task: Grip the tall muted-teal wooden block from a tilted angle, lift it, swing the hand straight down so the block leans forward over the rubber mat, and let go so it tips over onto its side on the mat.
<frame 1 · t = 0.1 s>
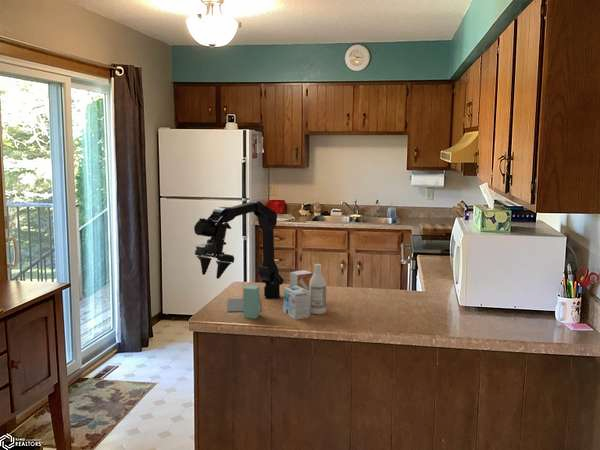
hand: (210, 276, 218), 15 cm above the worktop, tool pointing down, fingers open, 9 cm apart
bath foam: (317, 312, 223), on the worktop
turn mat: (243, 305, 232), on the worktop
small box: (300, 301, 238), on the worktop
light bulb box: (296, 315, 219), on the worktop
teal block: (251, 316, 217), on the worktop
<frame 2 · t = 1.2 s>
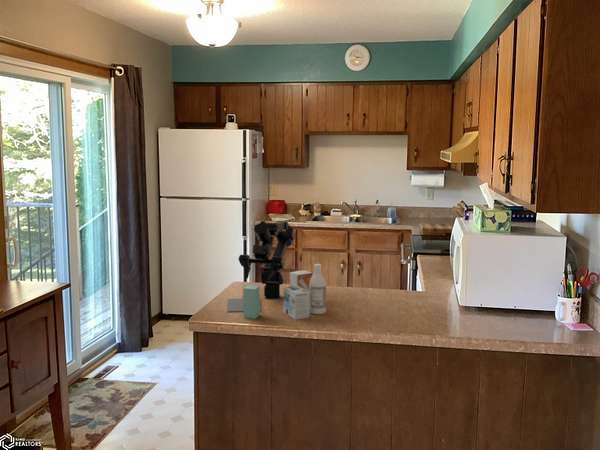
hand: (257, 279, 223), 13 cm above the worktop, tool tilted 45°, fingers open, 9 cm apart
nothing on the worktop moved.
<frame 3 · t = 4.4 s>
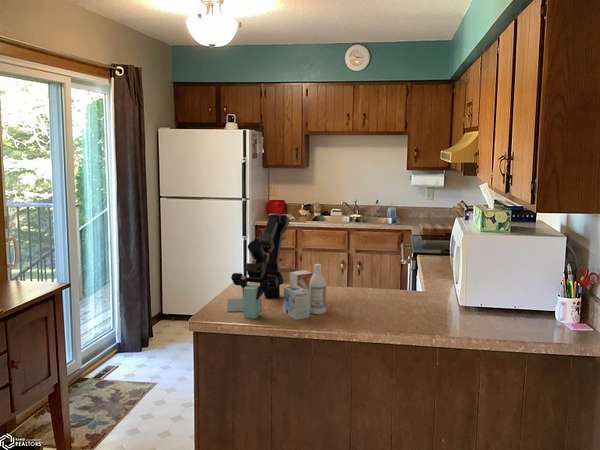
hand: (250, 298, 215), 8 cm above the worktop, tool tilted 45°, fingers closed on teal block, 5 cm apart
teal block: (251, 316, 217), on the worktop, touching gripper
everything else where it was.
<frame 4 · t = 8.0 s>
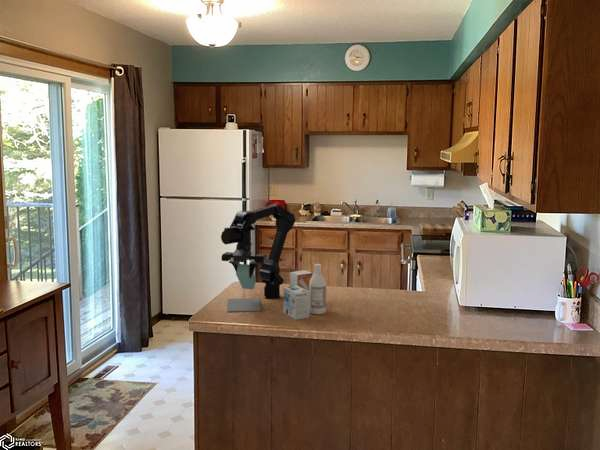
hand: (244, 277, 231), 12 cm above the worktop, tool pointing down, fingers closed on teal block, 5 cm apart
teal block: (249, 283, 238), point 7 cm above the worktop, tilted 45°, touching gripper
everything else where it was.
when the fingers open (8 cm above the worktop, at t = 9.7 s): teal block moves 2 cm and tips over, resting on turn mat.
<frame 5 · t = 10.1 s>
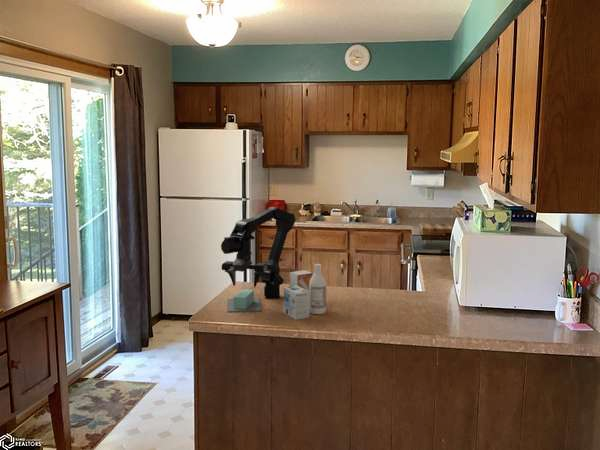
hand: (244, 286, 232), 8 cm above the worktop, tool pointing down, fingers open, 9 cm apart
teal block: (248, 295, 237), point 3 cm above the worktop, tilted 90°, touching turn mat
everything else where it was.
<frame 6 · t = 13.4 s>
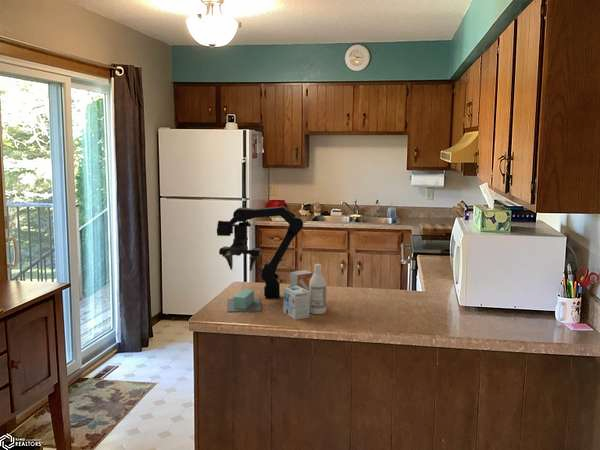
hand: (241, 270, 244), 12 cm above the worktop, tool pointing down, fingers open, 9 cm apart
nothing on the worktop moved.
at the end: teal block tilted 90°; teal block inside the target area (5.3 cm from its centre), point 2.9 cm above the worktop; the gripper is holding nothing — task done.
